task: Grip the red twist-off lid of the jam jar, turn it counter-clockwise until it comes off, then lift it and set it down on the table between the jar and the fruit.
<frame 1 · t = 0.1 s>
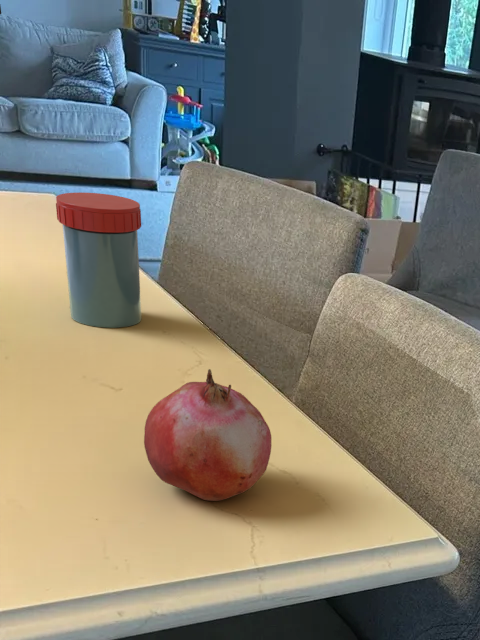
jar: (106, 317, 101), on the table
lid: (98, 204, 95), point 12 cm above the table, screwed on, not yet turned
fruit: (208, 490, 70), on the table
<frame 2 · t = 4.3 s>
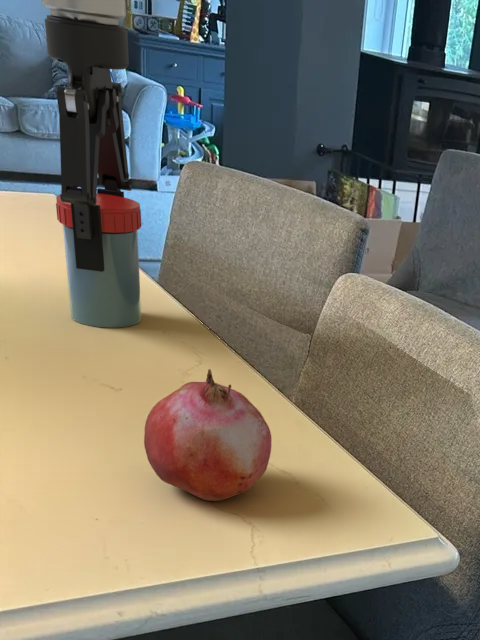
hand: (102, 259, 98), 6 cm above the table, tool pointing down, fingers closed on lid, 8 cm apart
lid: (98, 204, 95), point 12 cm above the table, screwed on, not yet turned, touching gripper
everything else where it was.
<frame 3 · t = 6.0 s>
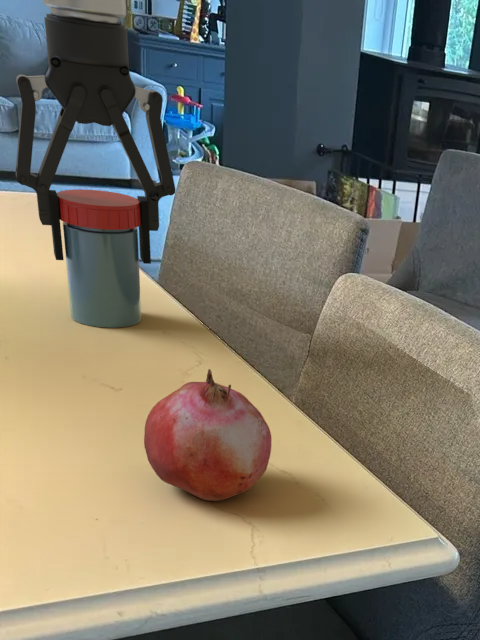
hand: (103, 258, 98), 7 cm above the table, tool pointing down, fingers closed on lid, 8 cm apart
lid: (98, 201, 95), point 12 cm above the table, turned 112° so far, risen 0.3 cm, still on its thread, touching gripper
everything else where it was.
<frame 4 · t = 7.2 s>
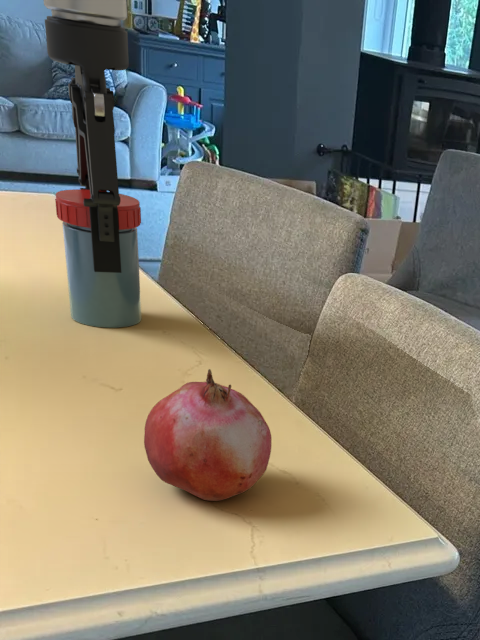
hand: (102, 260, 98), 6 cm above the table, tool pointing down, fingers closed on lid, 8 cm apart
lid: (98, 201, 95), point 12 cm above the table, off its thread, touching gripper
everything else where it was.
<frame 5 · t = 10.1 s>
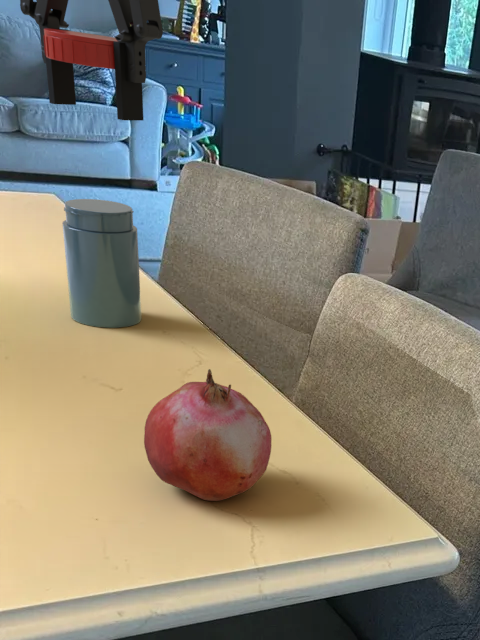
hand: (96, 111, 88), 21 cm above the table, tool pointing down, fingers closed on lid, 8 cm apart
lid: (91, 40, 85), point 27 cm above the table, off its thread, touching gripper
everything else where it was.
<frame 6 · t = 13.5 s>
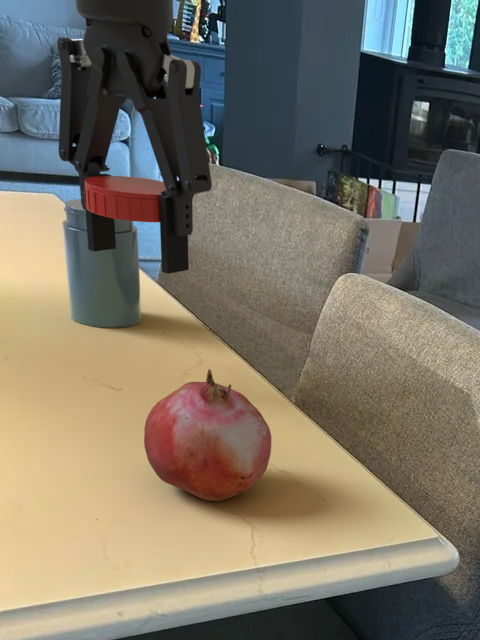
hand: (138, 259, 83), 11 cm above the table, tool pointing down, fingers closed on lid, 8 cm apart
lid: (134, 189, 80), point 17 cm above the table, off its thread, touching gripper
everything else where it was.
when the fingers open (0 cm above the table, at t = 16.3 s): lid drops 4 cm, point 2 cm above the table.
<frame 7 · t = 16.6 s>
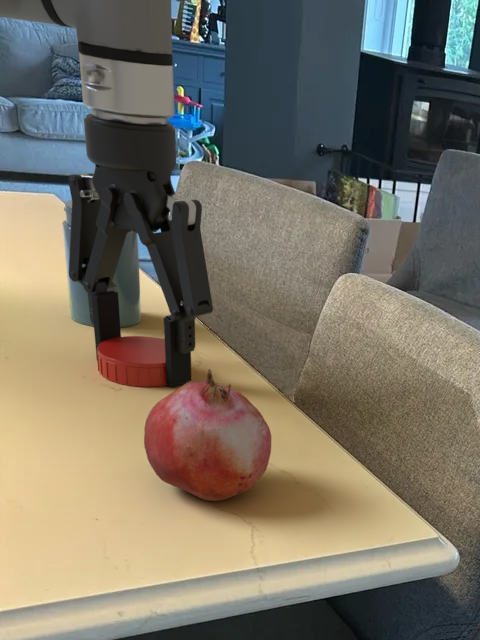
hand: (143, 370, 89), 0 cm above the table, tool pointing down, fingers open, 8 cm apart
lid: (142, 353, 88), point 2 cm above the table, off its thread
everything else where it was.
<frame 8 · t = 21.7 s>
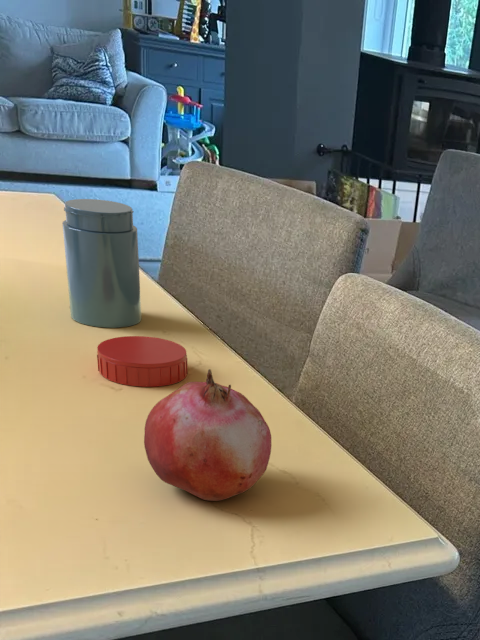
nothing on the table moved.
at the end: lid came off its thread; lid inside the target area on the table beside the fruit (0.1 cm from its centre), point 2.1 cm above the table; the gripper is holding nothing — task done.
